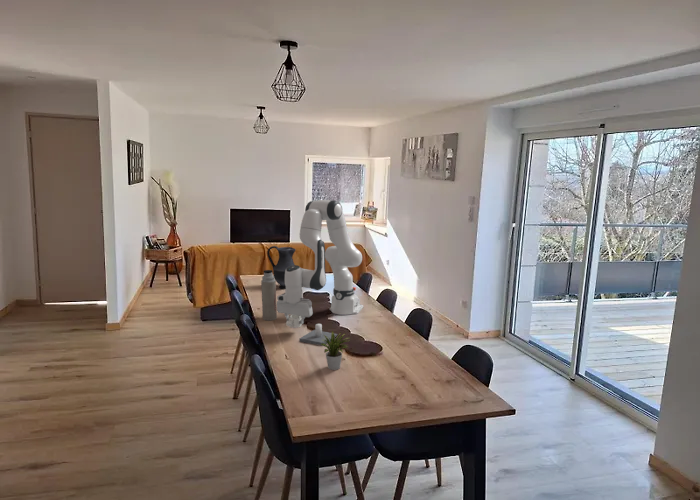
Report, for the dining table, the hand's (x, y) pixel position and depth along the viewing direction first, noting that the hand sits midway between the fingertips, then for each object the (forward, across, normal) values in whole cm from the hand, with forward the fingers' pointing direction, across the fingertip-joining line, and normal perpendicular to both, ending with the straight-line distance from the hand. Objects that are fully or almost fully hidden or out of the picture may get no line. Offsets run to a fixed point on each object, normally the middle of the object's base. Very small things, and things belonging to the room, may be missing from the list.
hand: (295, 322), depth 253 cm
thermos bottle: (+6, +26, -14) cm, 30 cm away
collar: (+2, 0, +2) cm, 2 cm away
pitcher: (+7, +59, -75) cm, 95 cm away
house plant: (+5, -40, +31) cm, 50 cm away
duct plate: (+6, -16, +3) cm, 17 cm away
